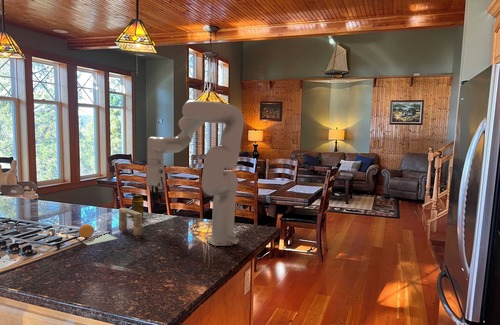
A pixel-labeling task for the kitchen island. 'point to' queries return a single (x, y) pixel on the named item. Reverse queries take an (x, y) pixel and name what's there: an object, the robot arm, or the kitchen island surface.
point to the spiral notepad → (100, 239)
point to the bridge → (137, 220)
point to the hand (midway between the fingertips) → (154, 199)
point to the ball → (86, 231)
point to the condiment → (137, 205)
